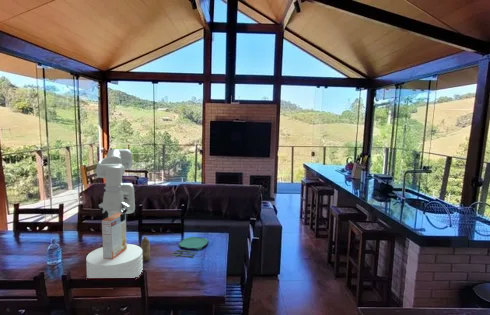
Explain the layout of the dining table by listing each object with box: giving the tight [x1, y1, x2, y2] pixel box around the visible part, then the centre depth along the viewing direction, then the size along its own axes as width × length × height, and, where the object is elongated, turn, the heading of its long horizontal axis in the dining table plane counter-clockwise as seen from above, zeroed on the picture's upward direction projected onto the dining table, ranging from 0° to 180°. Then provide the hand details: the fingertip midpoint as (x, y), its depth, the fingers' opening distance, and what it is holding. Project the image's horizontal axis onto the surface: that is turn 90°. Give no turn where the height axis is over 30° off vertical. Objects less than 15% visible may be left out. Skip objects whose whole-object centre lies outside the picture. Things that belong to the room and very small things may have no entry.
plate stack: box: [85, 243, 144, 279], centre depth 165 cm, size 28×28×12 cm
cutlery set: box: [171, 236, 209, 258], centre depth 203 cm, size 20×30×2 cm, turn 165°
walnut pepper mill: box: [140, 236, 151, 262], centre depth 182 cm, size 5×5×14 cm
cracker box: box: [101, 213, 128, 259], centre depth 163 cm, size 14×6×21 cm, turn 172°
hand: (114, 220), depth 162 cm, fingers open, 9 cm apart
